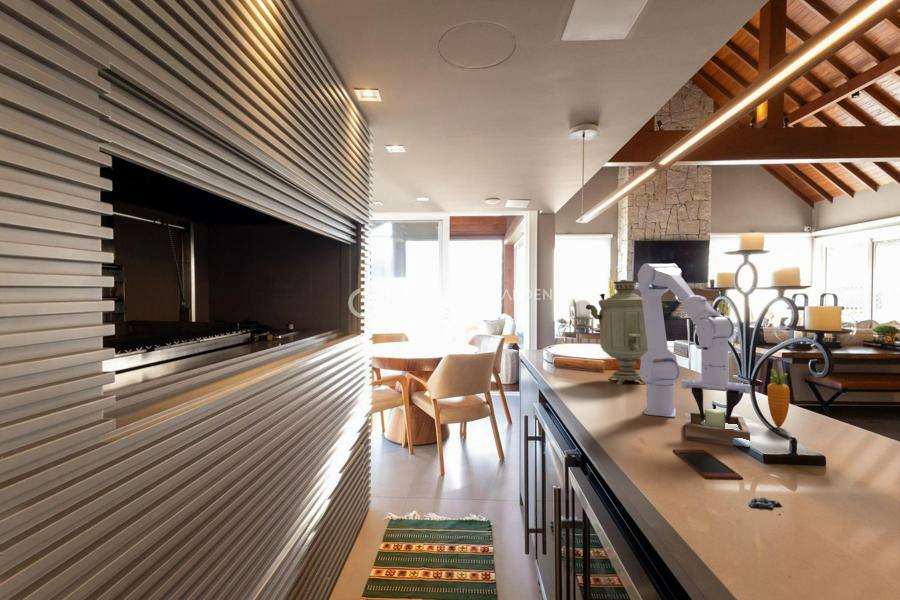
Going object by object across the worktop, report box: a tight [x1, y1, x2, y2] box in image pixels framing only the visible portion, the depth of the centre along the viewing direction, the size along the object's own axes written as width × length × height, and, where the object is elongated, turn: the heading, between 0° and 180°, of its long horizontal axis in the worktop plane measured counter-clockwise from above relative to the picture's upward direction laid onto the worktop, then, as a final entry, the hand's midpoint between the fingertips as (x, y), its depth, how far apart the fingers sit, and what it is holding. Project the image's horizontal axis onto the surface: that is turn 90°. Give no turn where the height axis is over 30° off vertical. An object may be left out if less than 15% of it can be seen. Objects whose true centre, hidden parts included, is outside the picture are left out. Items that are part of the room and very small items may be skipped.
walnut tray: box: [684, 410, 751, 447], centre depth 109 cm, size 14×13×4 cm
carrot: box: [766, 368, 791, 428], centre depth 115 cm, size 5×5×15 cm
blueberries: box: [748, 496, 783, 515], centre depth 73 cm, size 7×8×2 cm
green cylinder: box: [704, 408, 726, 428], centre depth 109 cm, size 4×4×5 cm
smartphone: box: [672, 448, 744, 481], centre depth 91 cm, size 7×1×15 cm
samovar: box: [585, 280, 667, 386], centre depth 172 cm, size 30×26×40 cm
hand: (714, 419), depth 109 cm, fingers open, 5 cm apart
